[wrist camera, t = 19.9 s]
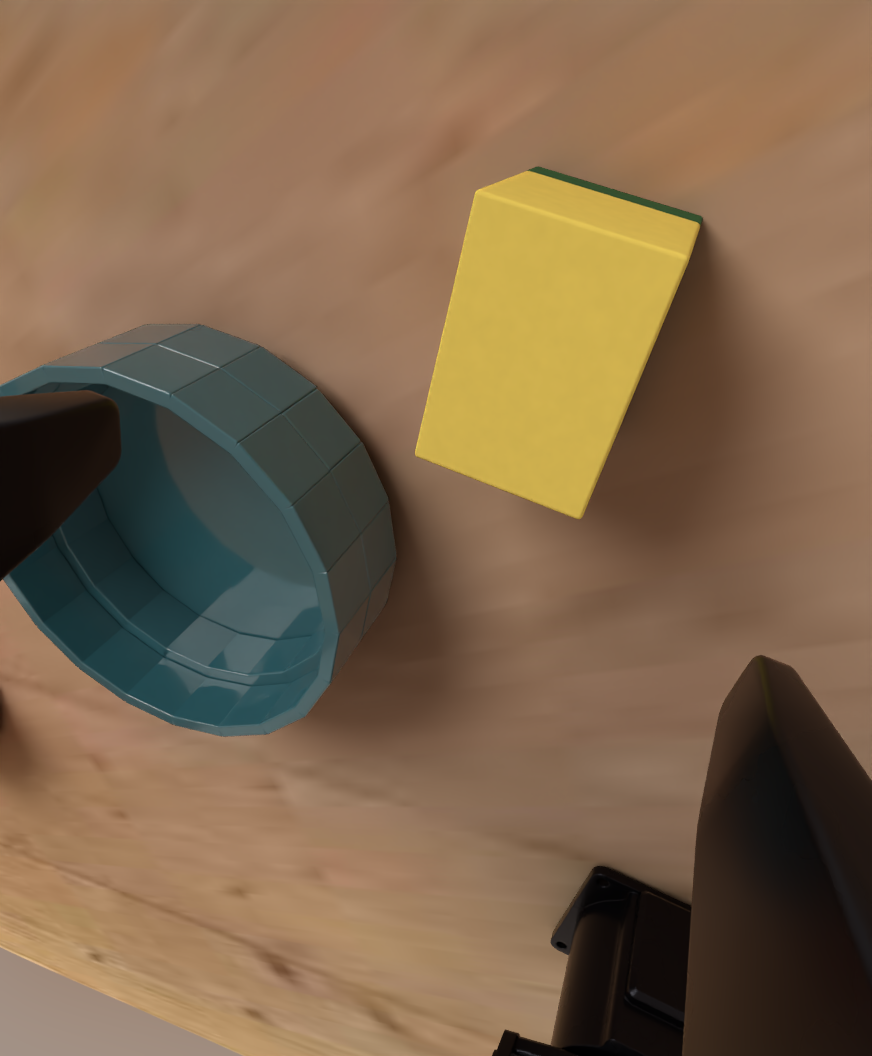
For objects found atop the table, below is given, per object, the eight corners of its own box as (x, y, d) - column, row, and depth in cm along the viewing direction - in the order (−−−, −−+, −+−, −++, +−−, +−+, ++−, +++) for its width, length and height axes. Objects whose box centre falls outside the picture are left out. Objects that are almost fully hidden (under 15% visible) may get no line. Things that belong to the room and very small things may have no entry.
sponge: (612, 436, 20) (580, 522, 16) (476, 386, 21) (412, 456, 17) (704, 216, 17) (690, 257, 13) (536, 165, 18) (474, 188, 14)
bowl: (370, 696, 30) (311, 791, 26) (94, 573, 32) (0, 642, 28) (438, 399, 22) (368, 469, 18) (66, 265, 24) (-70, 301, 20)
